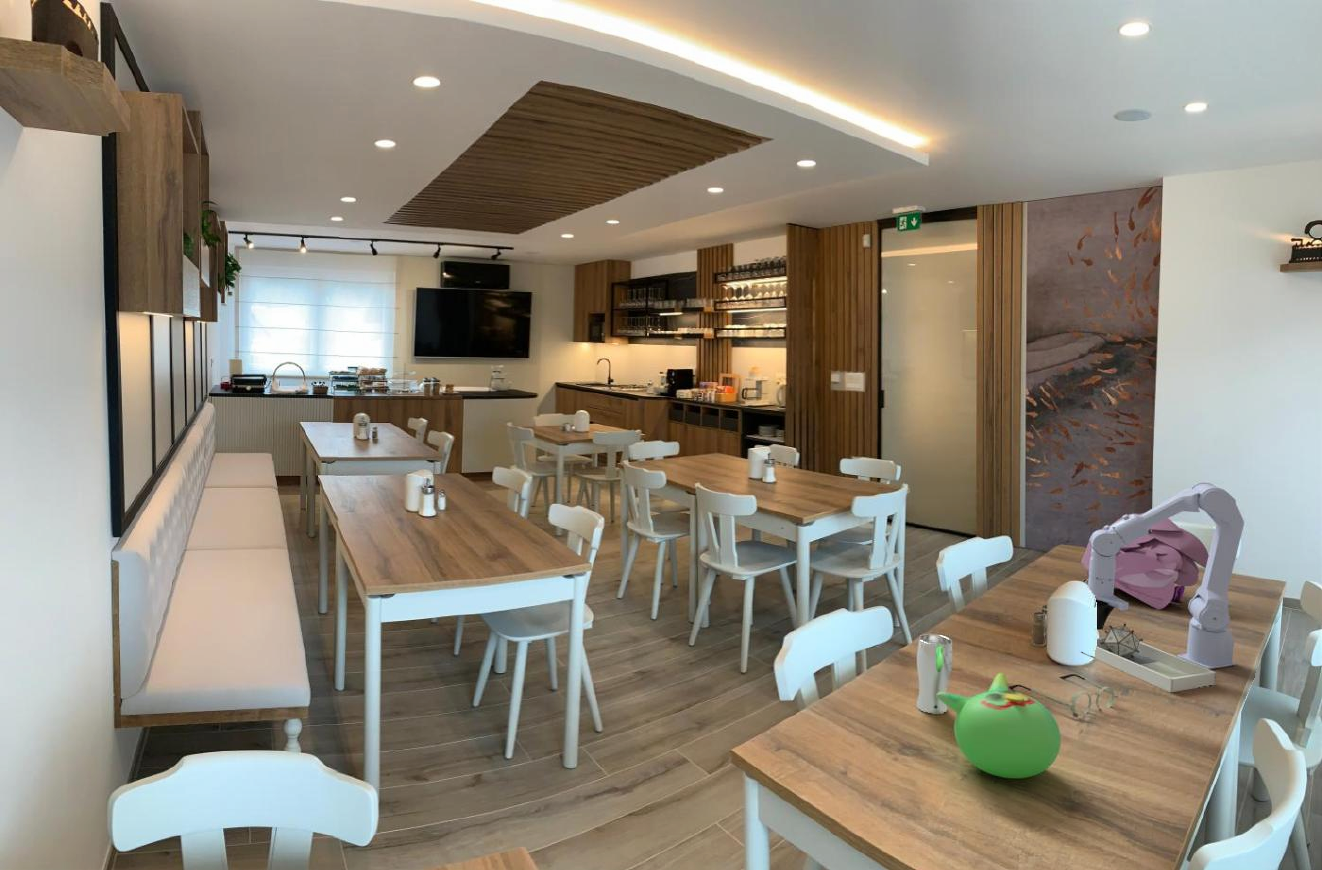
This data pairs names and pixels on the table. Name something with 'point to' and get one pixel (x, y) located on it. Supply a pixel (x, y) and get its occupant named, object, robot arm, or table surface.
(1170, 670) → the shallow open box
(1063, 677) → the eyeglasses
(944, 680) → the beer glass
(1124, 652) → the game die
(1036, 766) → the green squishy toy
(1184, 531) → the pink rounded layered piece
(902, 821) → the table surface
